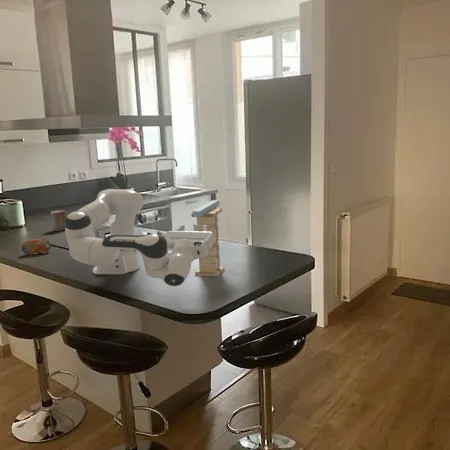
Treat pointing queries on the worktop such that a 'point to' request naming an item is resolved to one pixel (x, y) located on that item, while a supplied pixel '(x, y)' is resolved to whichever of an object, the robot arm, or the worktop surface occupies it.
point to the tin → (36, 246)
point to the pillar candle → (58, 220)
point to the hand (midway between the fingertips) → (193, 226)
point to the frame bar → (205, 208)
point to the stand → (212, 261)
